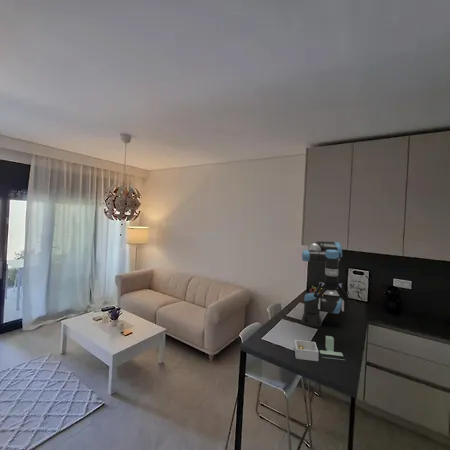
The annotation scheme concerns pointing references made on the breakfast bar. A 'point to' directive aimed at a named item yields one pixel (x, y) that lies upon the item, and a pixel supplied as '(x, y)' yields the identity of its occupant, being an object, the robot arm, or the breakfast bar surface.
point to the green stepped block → (330, 348)
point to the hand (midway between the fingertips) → (330, 309)
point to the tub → (306, 350)
